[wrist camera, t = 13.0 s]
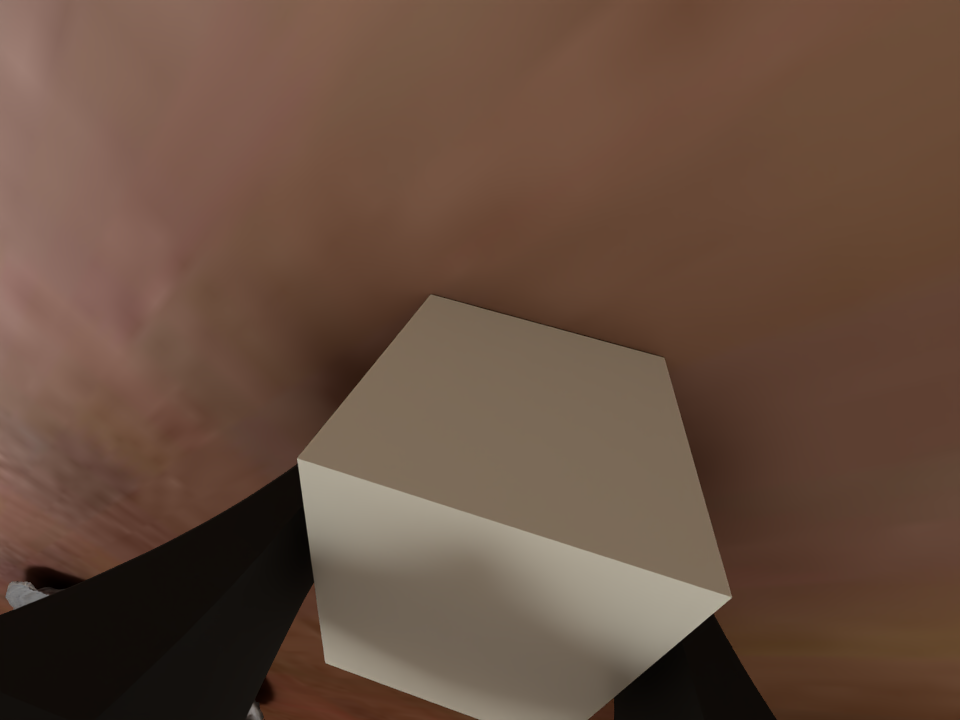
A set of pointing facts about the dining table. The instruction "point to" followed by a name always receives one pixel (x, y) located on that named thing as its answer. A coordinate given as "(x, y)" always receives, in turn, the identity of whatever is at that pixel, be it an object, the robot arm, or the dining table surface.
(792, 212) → the dining table surface
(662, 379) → the cream rectangular block
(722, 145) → the dining table surface
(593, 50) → the dining table surface
